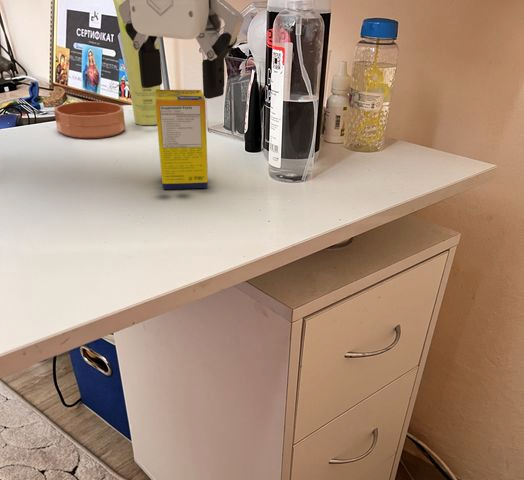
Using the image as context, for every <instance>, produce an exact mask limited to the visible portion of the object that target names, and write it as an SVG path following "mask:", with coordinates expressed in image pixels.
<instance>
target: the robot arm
mask: <svg viewBox="0 0 524 480" xmlns="http://www.w3.org/2000/svg"><path fill="white" fill-rule="evenodd" d="M119 13H120V15H121V17H122V20H123V22H124V25H126V26H125V29H126V32H127V34H128V35H129V37H130V38H131V40H132V41H133V47H134V49H135V50H136V51H138V56H139V66H140V76H141V85H142V87H143V88H150V87H155V86H159V85H160V86H161V85H163V72H162V61H161V58H162V57H161V51H160V48H159V49H155V46H156V44H157V42H158V40H159V41H160V38H169V39H175V40H187V41H188V40H194V39H195V40H196V42H197V43H198V45H199V46H200V48H201V50H202V52H203V53H204V56H205V58H206V59H202V61H201V66H202V67H201V70H202V72H201V73H202V93H203V96H204V98H205V99H208V100H210V99H215V98H219V97H222V96H223V95H224V93H225V84H226V83H225V82H226V81H225V59H227V58H228V57H229V56H230V51H231V50H232V49H233V48H234V46H235V45H236V43H237V42H238V36H239V34H240V31H241V28H242V25H243V23H244V15H243V14H242V13H241V12H240V11H238V10H237V9H236V8H234V7H233V6H232V5H231V4H230V3H229V2H228V1H226V0H125V1H124V2H123V3H122V4H120V5H119ZM222 21H223V22H224V27H223V32H222V33H220V32H221V28H222Z"/></svg>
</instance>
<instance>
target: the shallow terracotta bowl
mask: <svg viewBox="0 0 524 480" xmlns="http://www.w3.org/2000/svg"><path fill="white" fill-rule="evenodd" d="M53 112H54V113H53V114H54V118H55V124H56V129H57V131H58V132H60V133H61V134H62V135H64V136H67V137H70V138H76V139H104V138H109V137H114V136H117V135H120V134H121V133H122V132H123V131H125V130H126V122H125V112H124V106H122V105H120V104H118V103H114V102H108V101H94V100H92V101H91V100H90V101H89V100H88V101H75V102H68V103H63V104H59V105H57V106H55V107H54V109H53Z"/></svg>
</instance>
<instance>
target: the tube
mask: <svg viewBox="0 0 524 480" xmlns="http://www.w3.org/2000/svg"><path fill="white" fill-rule="evenodd" d="M112 1H113V5H114V8H115V13H116V18H117V23H118V28H119V32H120V37H121V43H122V48H123V54H124V59H125V66H126V72H127V78H128V84H129V91H130V98H131V105H132V106H131V107H132V112H133V113H132V114H133V119H134V123H135V124H137V125H139V126H154V125H157V112H156V90H161V85H159V86H155V87H150V88H143V87H142V85H141V76H140V66H139V56H138V51H136V50H135V49H134V47H133V41H132V40H131V38H130V37H129V35H128V34H127V32H126V29H125V26H126V25H124V22H123V20H122V17H121V15H120V13H119V5H120V4H122V3H123V2H124V1H125V0H112ZM155 49H159V50H160V39H159V40H158V42H157V44H156V46H155Z"/></svg>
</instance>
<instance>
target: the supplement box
mask: <svg viewBox="0 0 524 480" xmlns="http://www.w3.org/2000/svg"><path fill="white" fill-rule="evenodd" d="M206 106H207V105H206V98H205V97H204V95H203V89H160V90H156V112H157V124H156V125H157V136H158V150H159V161H160V172H161V173H160V174H161V181H162V190H177V189H178V190H179V189H208V187H209V173H208V145H207V144H208V143H207V113H206V112H207V111H206V110H207V109H206V108H207V107H206Z"/></svg>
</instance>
